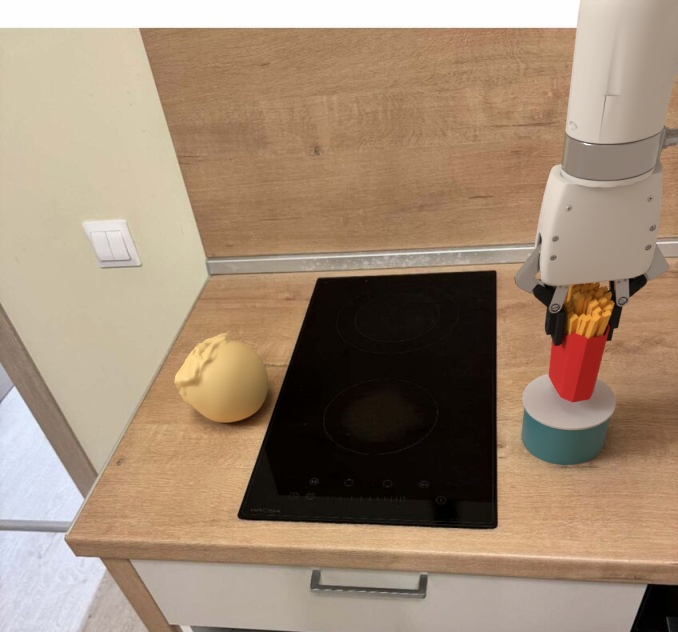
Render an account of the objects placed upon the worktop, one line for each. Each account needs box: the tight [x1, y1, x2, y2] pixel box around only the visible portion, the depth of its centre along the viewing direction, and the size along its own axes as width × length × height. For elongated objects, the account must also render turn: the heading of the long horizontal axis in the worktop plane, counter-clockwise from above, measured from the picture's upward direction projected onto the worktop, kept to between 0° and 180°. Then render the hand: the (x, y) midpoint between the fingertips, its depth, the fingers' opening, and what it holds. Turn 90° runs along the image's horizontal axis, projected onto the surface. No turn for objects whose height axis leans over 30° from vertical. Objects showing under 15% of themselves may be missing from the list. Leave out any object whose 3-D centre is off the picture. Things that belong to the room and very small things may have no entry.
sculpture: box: [174, 332, 269, 423], centre depth 87 cm, size 11×12×11 cm
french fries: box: [548, 282, 615, 403], centre depth 65 cm, size 8×4×12 cm, turn 6°
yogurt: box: [520, 373, 617, 466], centre depth 74 cm, size 10×10×8 cm
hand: (579, 334), depth 65 cm, fingers closed on french fries, 4 cm apart
